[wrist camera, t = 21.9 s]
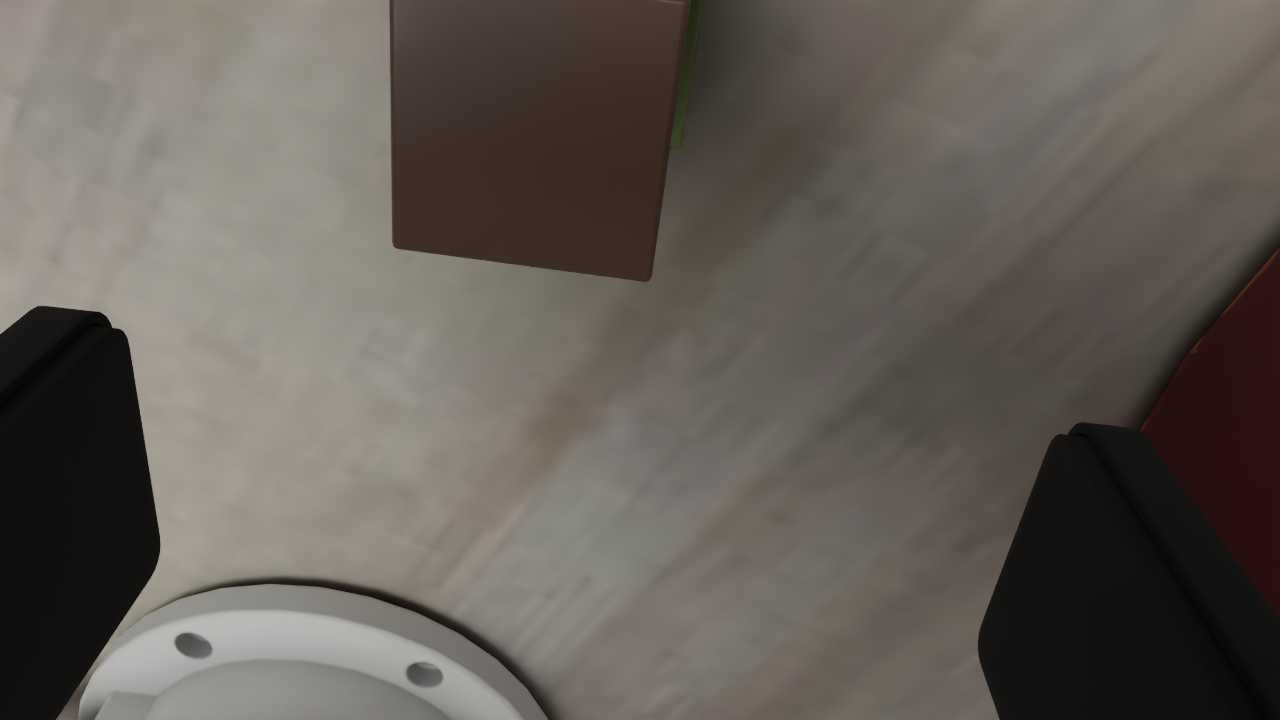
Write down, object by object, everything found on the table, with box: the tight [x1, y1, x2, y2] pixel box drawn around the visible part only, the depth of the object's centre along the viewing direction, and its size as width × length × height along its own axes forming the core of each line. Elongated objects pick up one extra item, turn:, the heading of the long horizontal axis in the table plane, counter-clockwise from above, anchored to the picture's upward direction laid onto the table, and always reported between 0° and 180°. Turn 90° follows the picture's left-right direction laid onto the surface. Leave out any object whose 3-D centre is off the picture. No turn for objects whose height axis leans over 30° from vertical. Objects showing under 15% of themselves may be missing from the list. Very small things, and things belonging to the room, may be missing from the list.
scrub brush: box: [390, 0, 703, 282], centre depth 14 cm, size 4×4×7 cm
